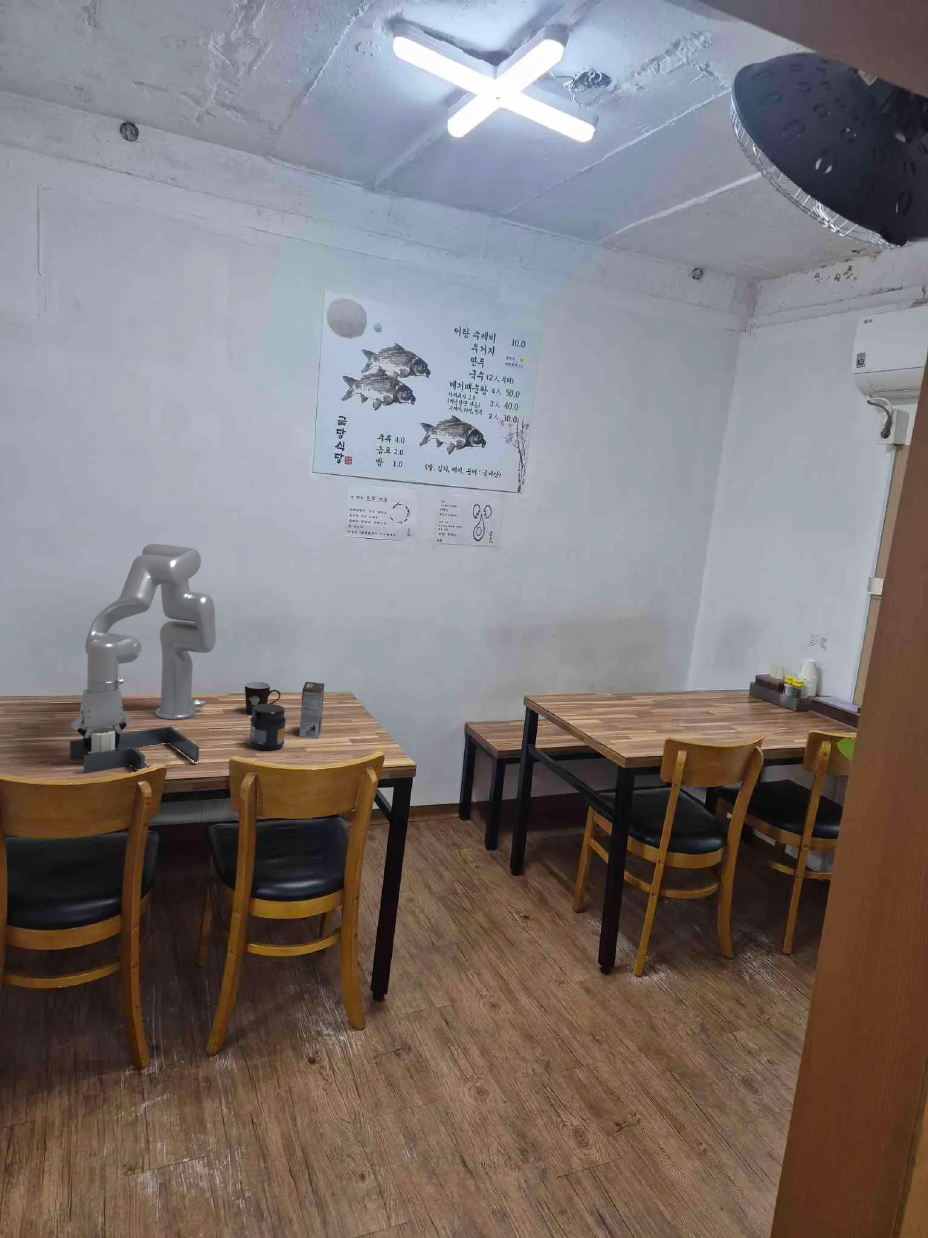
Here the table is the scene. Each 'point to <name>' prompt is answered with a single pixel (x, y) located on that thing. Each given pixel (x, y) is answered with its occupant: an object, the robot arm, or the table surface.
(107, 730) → the cream ring
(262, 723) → the supplement container
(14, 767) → the table surface
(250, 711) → the coffee mug
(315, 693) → the coffee box
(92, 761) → the rail course
